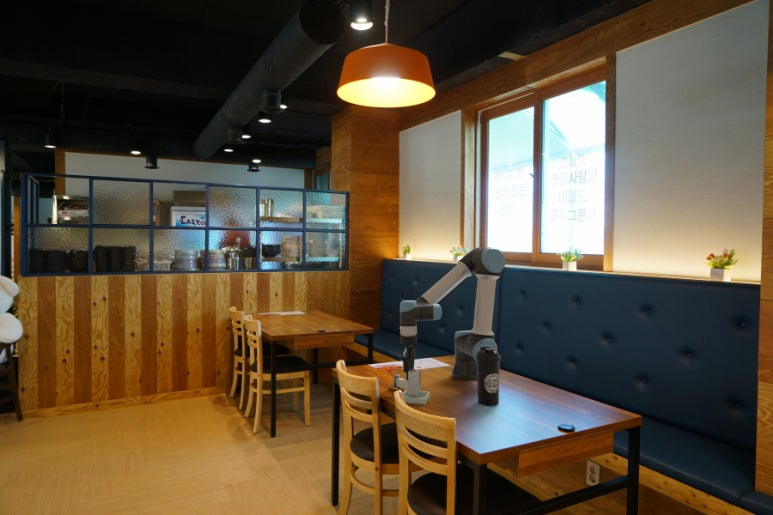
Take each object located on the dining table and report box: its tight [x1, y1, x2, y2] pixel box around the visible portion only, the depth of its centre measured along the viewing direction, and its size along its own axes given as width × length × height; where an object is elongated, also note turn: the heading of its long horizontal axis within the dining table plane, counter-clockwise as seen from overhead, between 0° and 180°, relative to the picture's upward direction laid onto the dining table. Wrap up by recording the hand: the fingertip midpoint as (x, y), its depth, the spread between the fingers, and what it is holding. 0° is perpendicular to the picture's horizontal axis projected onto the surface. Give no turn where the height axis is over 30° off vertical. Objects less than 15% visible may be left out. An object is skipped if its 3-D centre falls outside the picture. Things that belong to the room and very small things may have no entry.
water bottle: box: [476, 346, 501, 407], centre depth 214 cm, size 10×10×23 cm
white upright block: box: [408, 368, 422, 398], centre depth 218 cm, size 4×4×12 cm
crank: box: [392, 374, 408, 390], centre depth 234 cm, size 13×3×5 cm, turn 39°
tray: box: [402, 389, 431, 406], centre depth 218 cm, size 11×11×2 cm
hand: (409, 386), depth 234 cm, fingers closed
